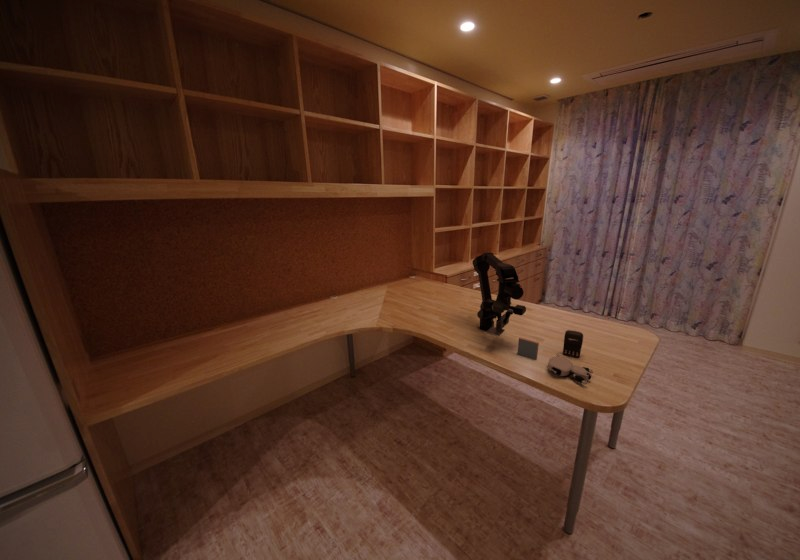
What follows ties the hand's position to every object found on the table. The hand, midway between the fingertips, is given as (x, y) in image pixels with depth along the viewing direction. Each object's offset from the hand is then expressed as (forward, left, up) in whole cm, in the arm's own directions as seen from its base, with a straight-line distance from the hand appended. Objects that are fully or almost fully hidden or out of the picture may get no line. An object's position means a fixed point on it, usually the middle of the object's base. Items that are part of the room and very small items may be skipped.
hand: (502, 323), depth 139 cm
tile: (+14, -6, -10) cm, 18 cm away
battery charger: (+29, +6, -10) cm, 31 cm away
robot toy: (+31, -10, -10) cm, 34 cm away
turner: (0, -3, -1) cm, 4 cm away
